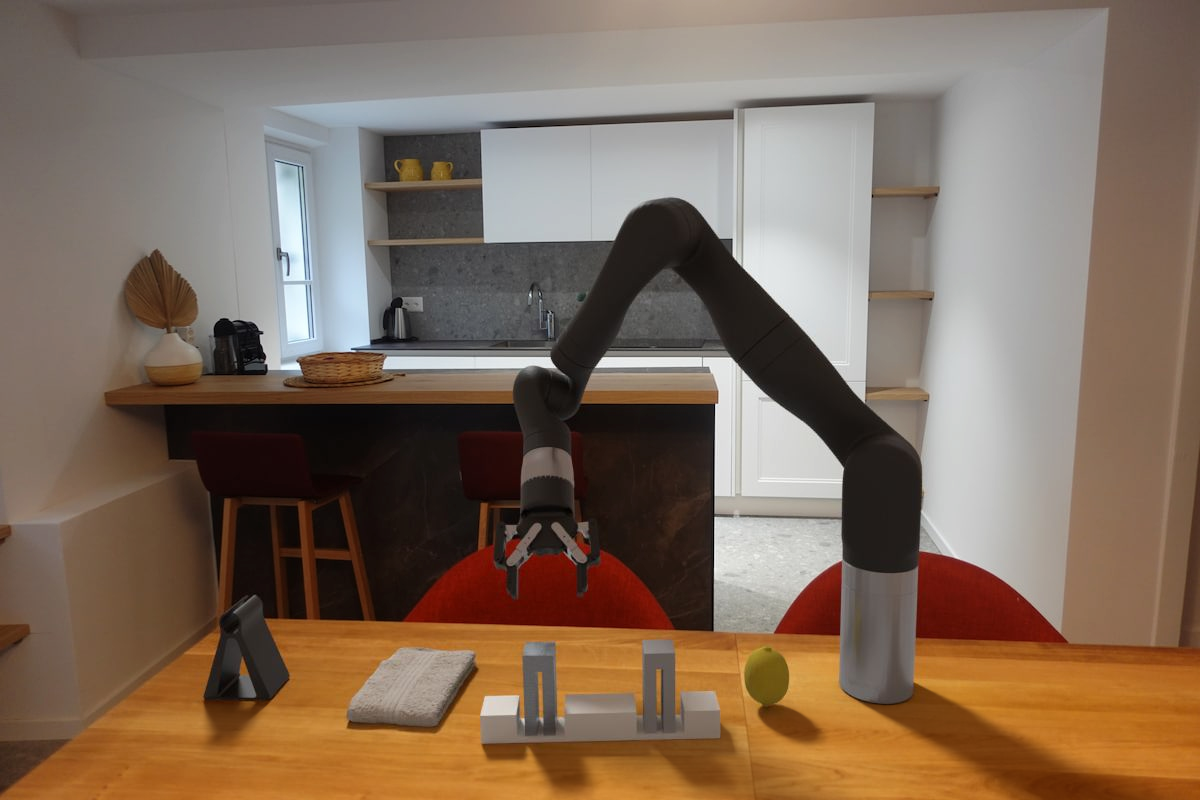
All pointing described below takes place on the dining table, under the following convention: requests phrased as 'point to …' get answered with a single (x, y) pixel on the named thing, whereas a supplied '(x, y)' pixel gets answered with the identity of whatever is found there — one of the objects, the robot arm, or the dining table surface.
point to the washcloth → (412, 687)
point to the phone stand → (245, 656)
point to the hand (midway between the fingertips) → (547, 595)
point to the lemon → (766, 676)
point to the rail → (614, 710)
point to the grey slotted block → (535, 661)
